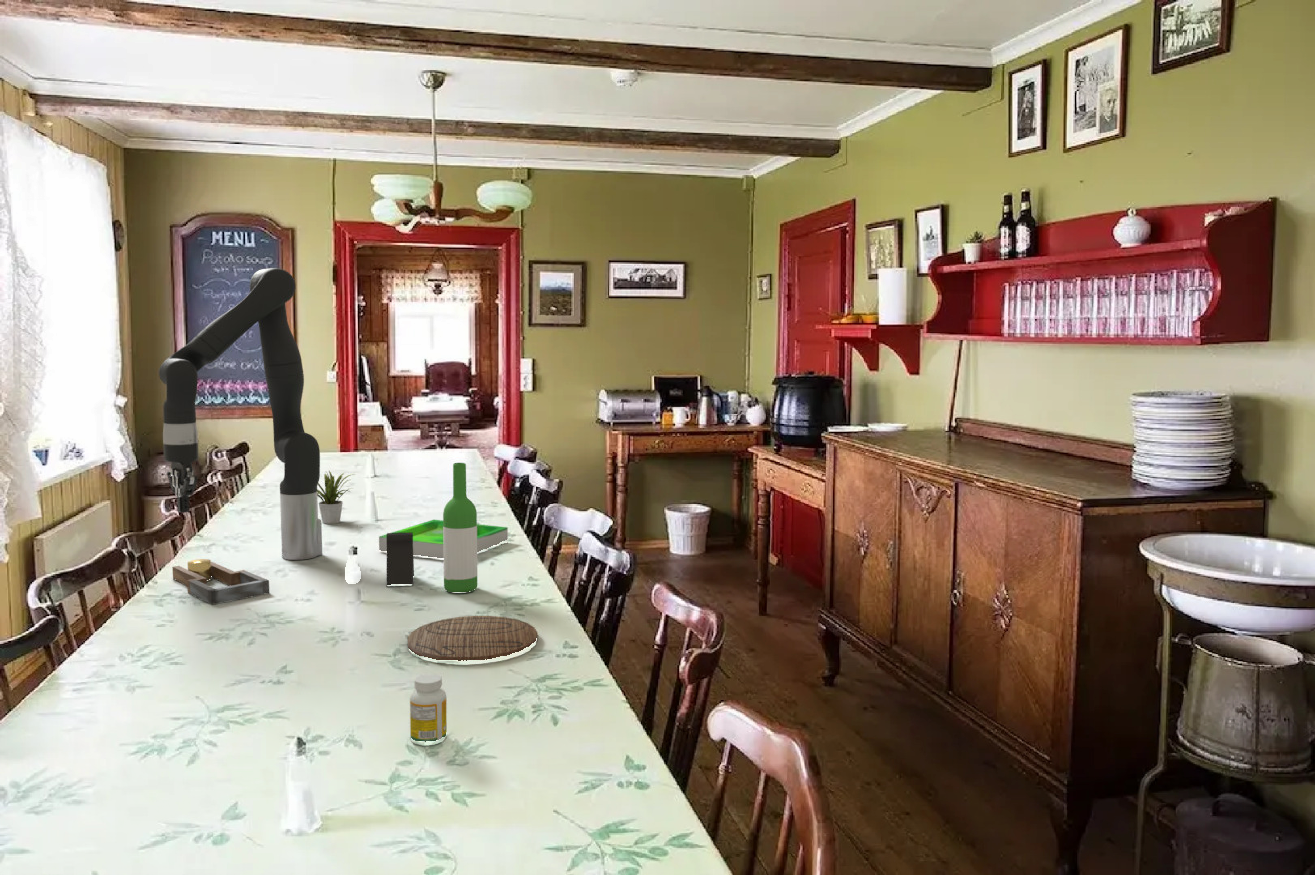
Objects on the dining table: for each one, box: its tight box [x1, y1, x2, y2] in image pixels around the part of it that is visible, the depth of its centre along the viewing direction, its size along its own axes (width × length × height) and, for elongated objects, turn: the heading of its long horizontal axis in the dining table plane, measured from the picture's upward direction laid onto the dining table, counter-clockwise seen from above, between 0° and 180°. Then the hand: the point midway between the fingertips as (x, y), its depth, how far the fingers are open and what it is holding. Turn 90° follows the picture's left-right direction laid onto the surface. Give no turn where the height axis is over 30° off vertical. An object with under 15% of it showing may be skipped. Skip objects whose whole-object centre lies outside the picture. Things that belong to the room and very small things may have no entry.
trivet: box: [407, 615, 538, 661], centre depth 188 cm, size 25×25×2 cm
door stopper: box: [386, 532, 415, 586], centre depth 230 cm, size 9×6×12 cm, turn 11°
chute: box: [171, 561, 270, 606], centre depth 224 cm, size 13×28×3 cm, turn 47°
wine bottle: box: [442, 462, 478, 593], centre depth 222 cm, size 8×8×30 cm
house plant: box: [317, 470, 356, 525], centre depth 295 cm, size 14×14×16 cm
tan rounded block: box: [187, 558, 212, 581], centre depth 230 cm, size 5×5×4 cm
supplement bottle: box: [409, 673, 448, 742], centre depth 144 cm, size 5×5×10 cm
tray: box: [378, 519, 509, 558], centre depth 265 cm, size 25×25×5 cm
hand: (183, 511), depth 233 cm, fingers closed
